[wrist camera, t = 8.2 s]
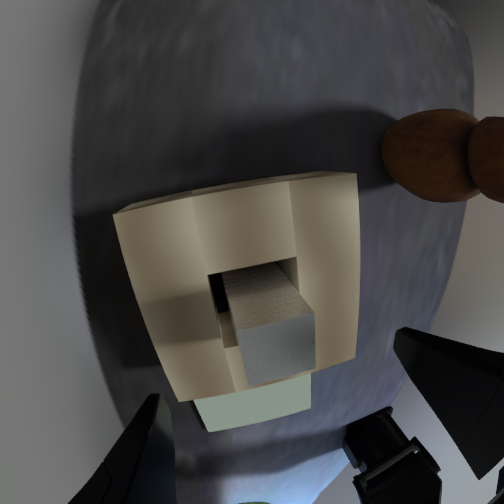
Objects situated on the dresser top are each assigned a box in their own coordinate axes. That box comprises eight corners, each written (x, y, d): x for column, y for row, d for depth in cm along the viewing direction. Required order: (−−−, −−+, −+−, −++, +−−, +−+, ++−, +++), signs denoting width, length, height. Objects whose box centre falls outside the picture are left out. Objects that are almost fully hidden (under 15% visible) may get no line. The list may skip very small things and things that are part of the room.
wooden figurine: (379, 202, 18) (573, 274, 4) (356, 125, 16) (577, 117, 2) (435, 175, 19) (592, 214, 5) (418, 108, 17) (585, 107, 3)
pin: (265, 250, 18) (314, 312, 10) (270, 292, 19) (315, 368, 11) (218, 259, 17) (236, 331, 10) (226, 301, 18) (248, 386, 11)
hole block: (323, 170, 17) (356, 173, 13) (331, 328, 21) (354, 357, 17) (131, 203, 15) (112, 214, 11) (179, 363, 19) (178, 401, 15)
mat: (308, 345, 21) (310, 348, 20) (309, 405, 23) (310, 408, 23) (183, 372, 19) (183, 376, 19) (208, 429, 22) (208, 432, 21)
